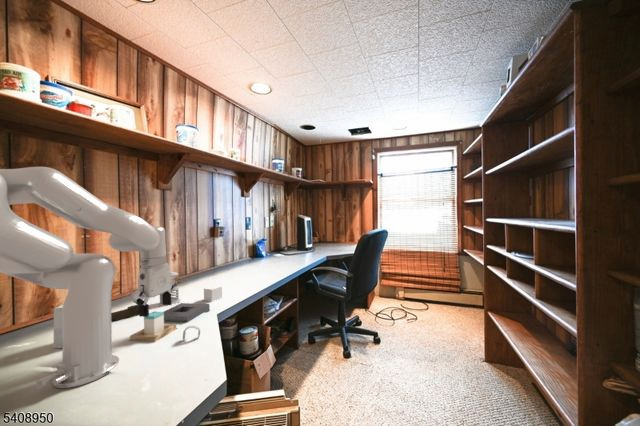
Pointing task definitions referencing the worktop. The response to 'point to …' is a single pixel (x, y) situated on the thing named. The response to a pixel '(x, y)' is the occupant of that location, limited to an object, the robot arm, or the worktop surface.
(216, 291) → the white cube
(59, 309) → the small box
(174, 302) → the french press
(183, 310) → the port panel
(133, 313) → the hand tool
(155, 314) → the plug
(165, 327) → the wooden square tray
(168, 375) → the worktop surface
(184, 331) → the wristwatch
